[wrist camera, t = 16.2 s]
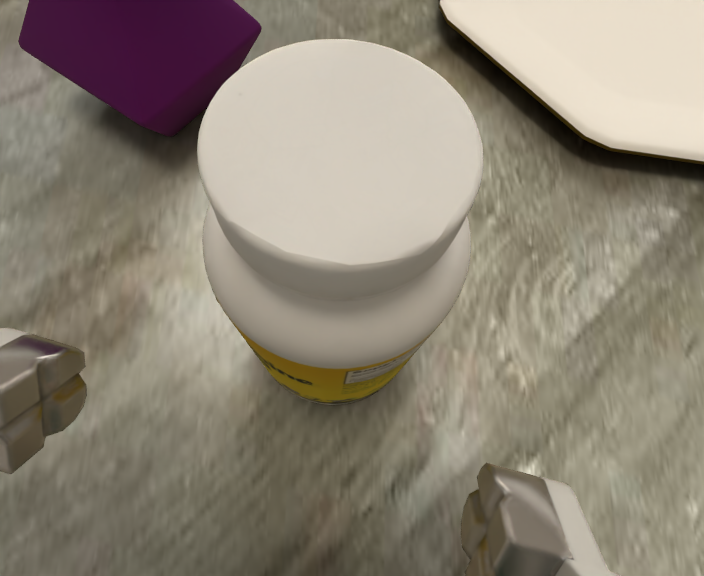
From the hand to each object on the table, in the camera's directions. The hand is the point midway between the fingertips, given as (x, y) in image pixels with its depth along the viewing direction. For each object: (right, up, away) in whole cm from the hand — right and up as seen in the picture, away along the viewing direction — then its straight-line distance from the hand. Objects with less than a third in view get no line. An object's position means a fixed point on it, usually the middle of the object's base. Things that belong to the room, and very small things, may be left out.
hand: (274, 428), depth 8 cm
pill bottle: (+1, +1, +9) cm, 9 cm away
